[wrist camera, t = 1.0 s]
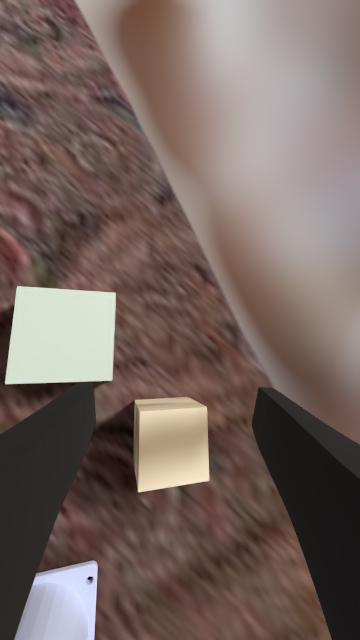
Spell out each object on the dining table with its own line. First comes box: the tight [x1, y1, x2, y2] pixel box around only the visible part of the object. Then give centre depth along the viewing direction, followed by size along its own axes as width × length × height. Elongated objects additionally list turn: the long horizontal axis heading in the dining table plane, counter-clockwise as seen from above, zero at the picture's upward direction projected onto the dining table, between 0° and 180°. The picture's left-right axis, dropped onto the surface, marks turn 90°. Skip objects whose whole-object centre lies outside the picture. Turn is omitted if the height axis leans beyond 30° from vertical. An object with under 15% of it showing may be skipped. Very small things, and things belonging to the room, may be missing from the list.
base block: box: [5, 286, 116, 384], centre depth 18 cm, size 7×7×3 cm
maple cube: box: [133, 397, 209, 492], centre depth 18 cm, size 5×5×5 cm
